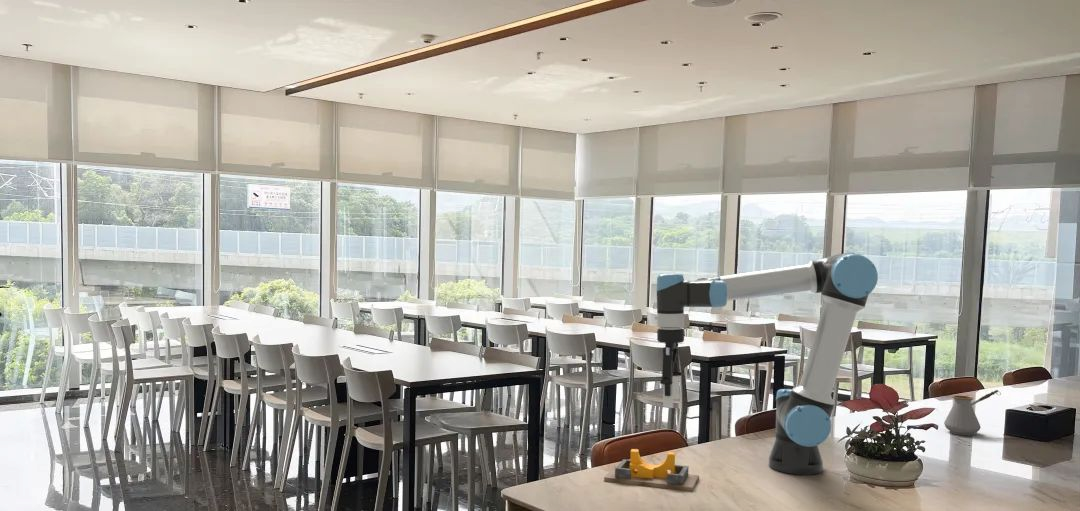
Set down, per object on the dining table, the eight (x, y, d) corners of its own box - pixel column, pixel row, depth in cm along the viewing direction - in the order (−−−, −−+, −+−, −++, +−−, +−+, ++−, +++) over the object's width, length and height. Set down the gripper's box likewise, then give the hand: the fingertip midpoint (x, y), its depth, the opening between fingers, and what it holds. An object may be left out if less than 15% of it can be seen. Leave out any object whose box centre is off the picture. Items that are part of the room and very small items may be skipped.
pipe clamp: (629, 476, 218) (629, 452, 217) (631, 472, 222) (631, 449, 222) (673, 480, 215) (674, 456, 215) (674, 475, 219) (675, 452, 219)
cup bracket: (698, 478, 220) (699, 466, 220) (692, 491, 208) (692, 478, 208) (614, 469, 228) (614, 457, 228) (604, 480, 216) (604, 468, 216)
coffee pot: (960, 437, 275) (961, 394, 275) (936, 430, 286) (937, 388, 286) (1011, 435, 280) (1012, 392, 280) (985, 427, 292) (986, 387, 291)
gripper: (663, 323, 238) (664, 394, 238) (650, 332, 214) (651, 410, 214) (688, 324, 236) (689, 395, 236) (678, 332, 212) (679, 412, 212)
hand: (671, 402), depth 225 cm, fingers open, 13 cm apart
